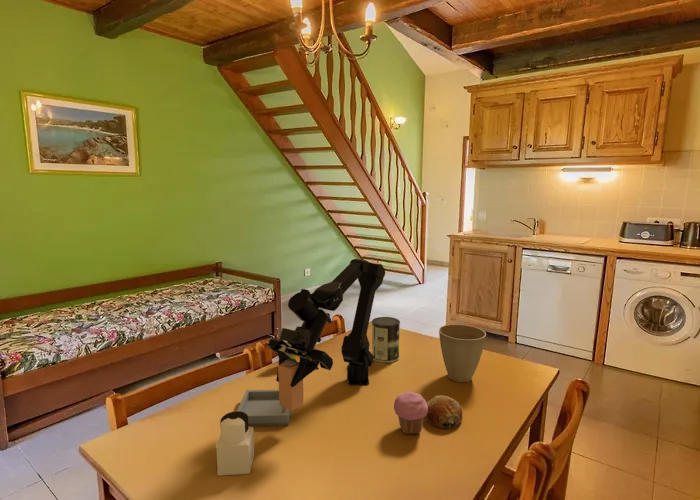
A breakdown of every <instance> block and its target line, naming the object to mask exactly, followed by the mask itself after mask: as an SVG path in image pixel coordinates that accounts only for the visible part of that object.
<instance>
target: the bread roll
mask: <svg viewBox="0 0 700 500" xmlns="http://www.w3.org/2000/svg"><path fill="white" fill-rule="evenodd" d="M426 403H427V405H428V412H427V415H426V416H425V417H426V420H427V422H428V423H429V424H430V425H431V426H433V427H436V428H440V429H452V428H454V427H457V426H458V425H459V424H460V423H461V422H462V421H463V410H462V405H460V403H459V402H458V401H457V400H456V399H454V398H452V397H449V396H447V395H434V396H433V397H432V398H430V400H428V402H426Z"/></svg>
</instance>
